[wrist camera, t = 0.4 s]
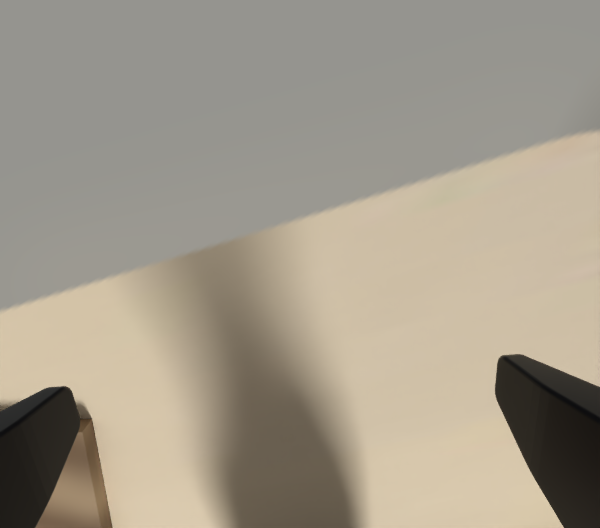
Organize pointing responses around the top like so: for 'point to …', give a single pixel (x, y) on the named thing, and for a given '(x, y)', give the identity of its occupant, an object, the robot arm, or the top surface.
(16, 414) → the robot arm
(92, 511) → the taupe cutting board
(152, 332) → the top surface
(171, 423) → the top surface
